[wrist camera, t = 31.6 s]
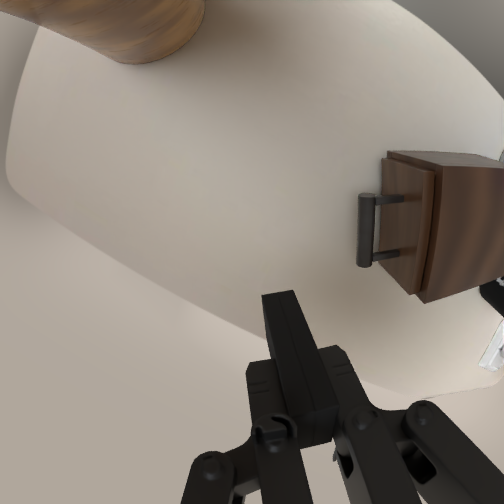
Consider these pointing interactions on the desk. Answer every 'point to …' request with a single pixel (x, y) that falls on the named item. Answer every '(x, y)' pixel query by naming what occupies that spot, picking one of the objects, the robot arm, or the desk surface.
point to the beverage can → (494, 294)
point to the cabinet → (462, 221)
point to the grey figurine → (494, 351)
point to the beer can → (502, 158)
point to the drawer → (398, 223)
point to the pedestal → (116, 24)
